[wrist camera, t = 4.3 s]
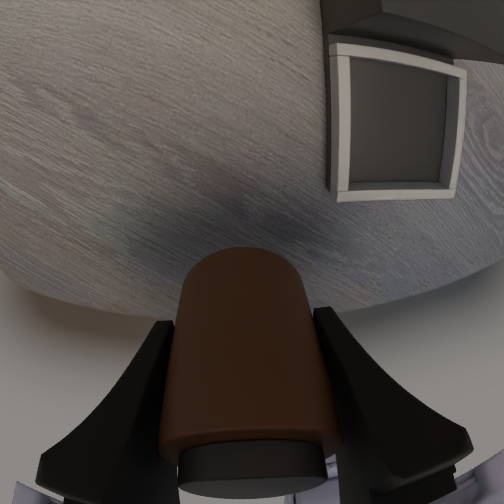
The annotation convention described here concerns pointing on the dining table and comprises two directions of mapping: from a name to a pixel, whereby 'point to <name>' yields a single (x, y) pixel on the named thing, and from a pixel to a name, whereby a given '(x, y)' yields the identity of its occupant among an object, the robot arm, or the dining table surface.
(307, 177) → the dining table surface
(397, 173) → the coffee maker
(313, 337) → the brown cylinder grey top
